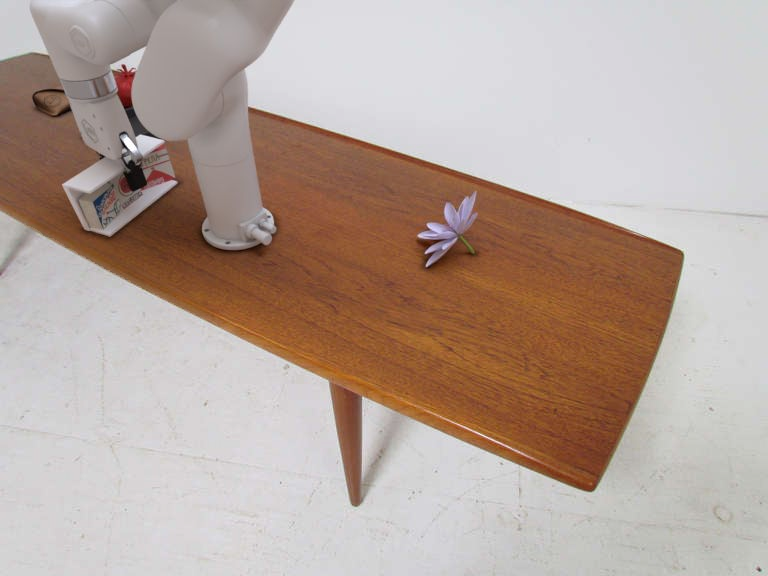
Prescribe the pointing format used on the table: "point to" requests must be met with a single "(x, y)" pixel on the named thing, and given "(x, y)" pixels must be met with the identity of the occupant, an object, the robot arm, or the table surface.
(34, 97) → the sunglasses case
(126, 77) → the pomegranate
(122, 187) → the cigarette display
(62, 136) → the table surface
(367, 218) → the table surface
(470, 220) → the water lily
